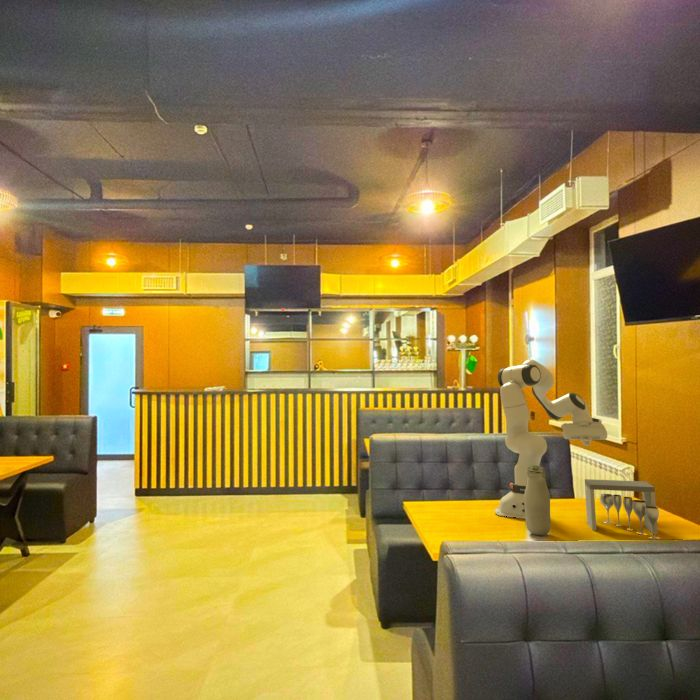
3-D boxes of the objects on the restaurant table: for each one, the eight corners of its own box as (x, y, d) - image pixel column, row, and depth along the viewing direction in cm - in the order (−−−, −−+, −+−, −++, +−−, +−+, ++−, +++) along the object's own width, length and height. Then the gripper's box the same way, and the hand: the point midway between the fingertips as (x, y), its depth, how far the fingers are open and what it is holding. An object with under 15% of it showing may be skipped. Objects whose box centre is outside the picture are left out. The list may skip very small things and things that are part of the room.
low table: (592, 530, 196) (589, 484, 197) (587, 522, 207) (584, 479, 209) (657, 534, 189) (654, 487, 190) (648, 526, 200) (645, 481, 202)
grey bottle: (526, 537, 189) (522, 467, 191) (526, 529, 198) (523, 463, 200) (552, 539, 185) (548, 468, 187) (551, 531, 195) (547, 464, 197)
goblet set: (664, 539, 184) (662, 504, 185) (653, 540, 182) (650, 505, 183) (608, 520, 211) (606, 490, 212) (598, 521, 209) (596, 491, 210)
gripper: (561, 419, 243) (564, 440, 233) (604, 419, 237) (610, 441, 227) (560, 427, 247) (564, 448, 237) (603, 427, 241) (608, 449, 231)
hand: (587, 444), depth 232 cm, fingers closed
